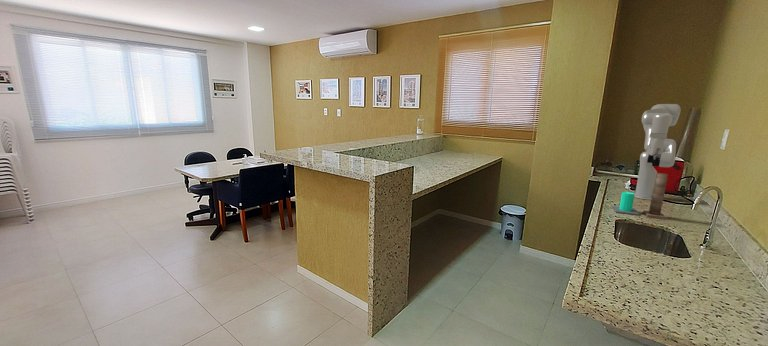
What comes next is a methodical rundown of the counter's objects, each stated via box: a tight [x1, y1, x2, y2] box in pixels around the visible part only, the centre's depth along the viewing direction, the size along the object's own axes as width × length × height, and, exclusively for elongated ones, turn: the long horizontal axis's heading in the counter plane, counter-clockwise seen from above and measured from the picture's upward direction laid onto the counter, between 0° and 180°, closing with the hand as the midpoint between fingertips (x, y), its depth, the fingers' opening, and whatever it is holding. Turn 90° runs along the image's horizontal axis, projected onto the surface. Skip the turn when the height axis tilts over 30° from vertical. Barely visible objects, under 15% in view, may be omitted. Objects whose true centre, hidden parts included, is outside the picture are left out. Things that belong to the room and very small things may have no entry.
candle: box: [619, 190, 635, 211], centre depth 187 cm, size 6×6×12 cm
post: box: [642, 172, 669, 220], centre depth 178 cm, size 8×8×25 cm
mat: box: [611, 205, 640, 216], centre depth 188 cm, size 11×11×1 cm
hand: (652, 164), depth 187 cm, fingers open, 9 cm apart
